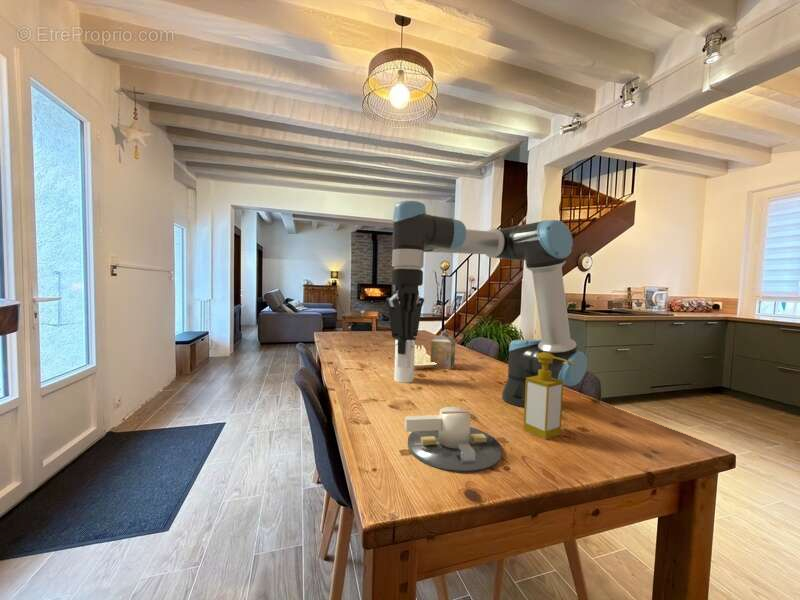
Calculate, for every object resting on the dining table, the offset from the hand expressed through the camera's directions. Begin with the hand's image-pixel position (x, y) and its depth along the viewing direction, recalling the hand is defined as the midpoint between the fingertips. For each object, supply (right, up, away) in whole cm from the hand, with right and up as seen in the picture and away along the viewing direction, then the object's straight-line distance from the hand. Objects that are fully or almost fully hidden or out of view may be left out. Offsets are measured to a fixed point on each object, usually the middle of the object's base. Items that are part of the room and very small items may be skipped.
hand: (403, 366), depth 79 cm
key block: (+11, -21, +6) cm, 24 cm away
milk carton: (+21, -19, +93) cm, 98 cm away
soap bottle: (+42, -23, +15) cm, 50 cm away
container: (+1, -20, +67) cm, 69 cm away
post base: (+13, -22, +7) cm, 27 cm away
